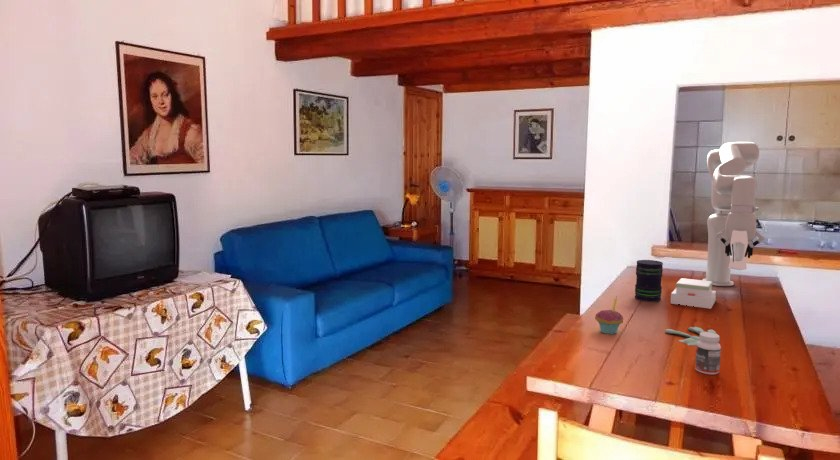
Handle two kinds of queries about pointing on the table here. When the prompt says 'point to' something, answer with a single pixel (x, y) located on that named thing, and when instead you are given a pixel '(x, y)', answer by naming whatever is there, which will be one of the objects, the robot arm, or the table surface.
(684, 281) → the step stand
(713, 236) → the robot arm
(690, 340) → the green flat branched shape
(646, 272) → the storage jar
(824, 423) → the table surface
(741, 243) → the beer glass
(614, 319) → the cupcake
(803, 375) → the table surface
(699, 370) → the pill bottle
